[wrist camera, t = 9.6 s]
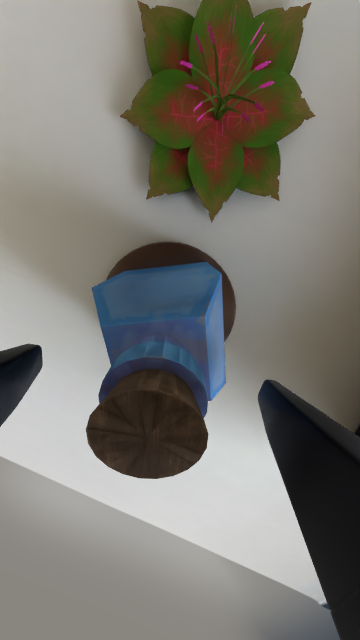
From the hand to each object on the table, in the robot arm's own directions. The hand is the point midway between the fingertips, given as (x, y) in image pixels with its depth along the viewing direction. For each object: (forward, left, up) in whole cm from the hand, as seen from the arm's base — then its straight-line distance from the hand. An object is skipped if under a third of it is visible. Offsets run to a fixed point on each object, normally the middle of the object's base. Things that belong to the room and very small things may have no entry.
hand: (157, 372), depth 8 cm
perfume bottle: (0, 0, -9) cm, 9 cm away
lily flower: (+12, -1, -10) cm, 16 cm away
